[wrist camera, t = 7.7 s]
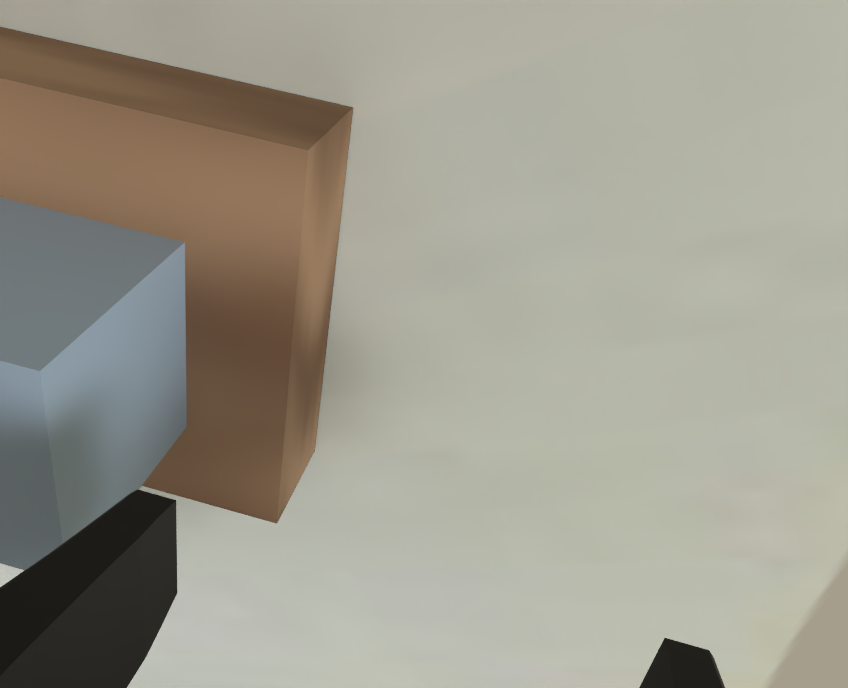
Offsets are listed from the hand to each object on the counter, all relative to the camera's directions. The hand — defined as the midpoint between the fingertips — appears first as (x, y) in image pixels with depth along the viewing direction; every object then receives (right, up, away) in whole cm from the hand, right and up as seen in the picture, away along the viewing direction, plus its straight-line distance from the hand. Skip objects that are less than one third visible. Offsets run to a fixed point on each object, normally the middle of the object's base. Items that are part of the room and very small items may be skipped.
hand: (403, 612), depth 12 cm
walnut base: (-7, +6, +9) cm, 13 cm away
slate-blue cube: (-8, +5, +7) cm, 11 cm away
